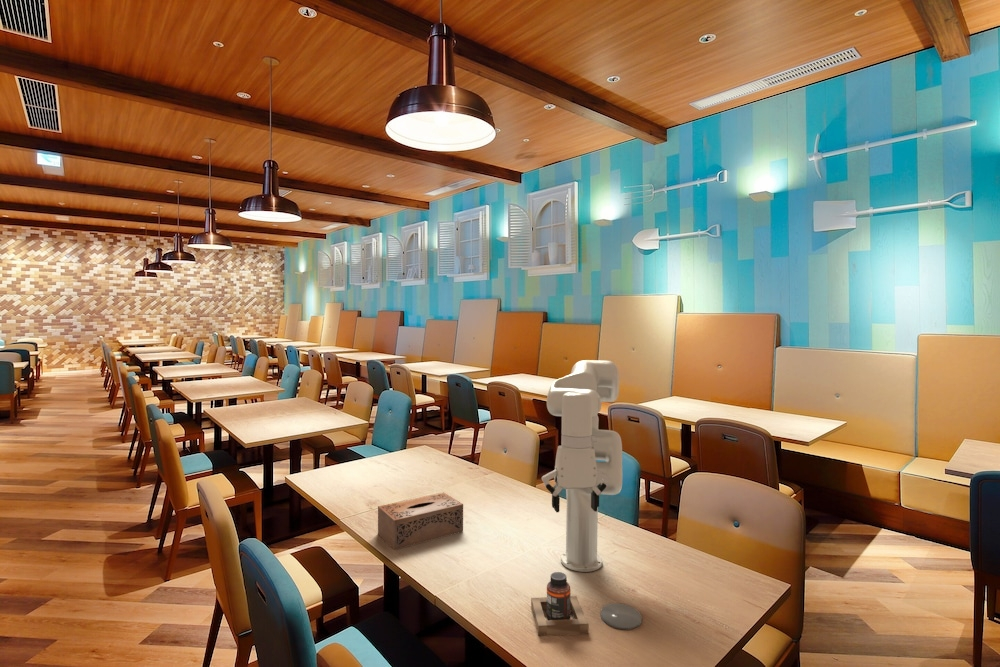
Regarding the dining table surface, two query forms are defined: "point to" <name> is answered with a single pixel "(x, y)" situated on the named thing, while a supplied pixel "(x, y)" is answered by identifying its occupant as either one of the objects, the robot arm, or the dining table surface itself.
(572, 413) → the robot arm
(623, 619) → the coaster
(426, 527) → the tissue box cover
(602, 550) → the dining table surface
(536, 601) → the pocket frame
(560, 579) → the supplement bottle
